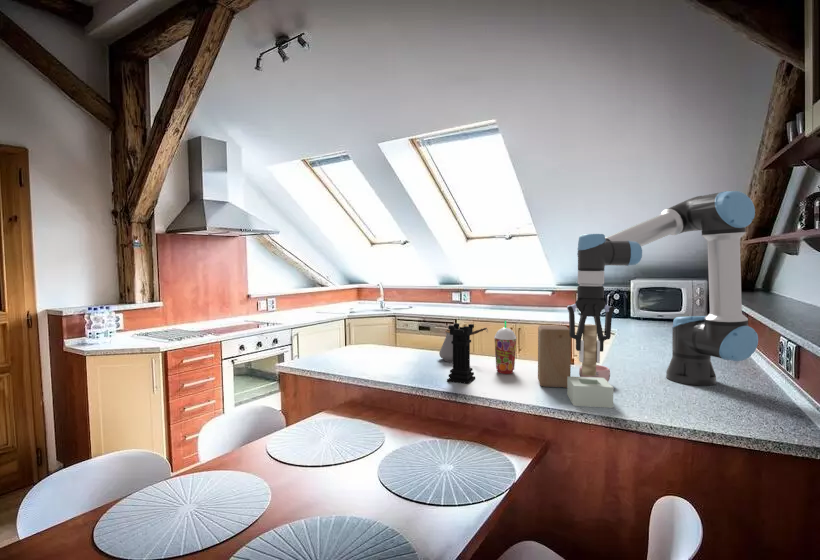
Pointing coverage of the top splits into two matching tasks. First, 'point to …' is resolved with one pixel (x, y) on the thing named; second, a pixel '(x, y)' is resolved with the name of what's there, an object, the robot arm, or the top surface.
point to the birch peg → (589, 350)
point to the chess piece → (461, 354)
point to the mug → (598, 372)
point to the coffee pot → (451, 346)
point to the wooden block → (554, 355)
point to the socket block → (590, 392)
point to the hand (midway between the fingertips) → (589, 361)
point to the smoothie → (505, 350)
